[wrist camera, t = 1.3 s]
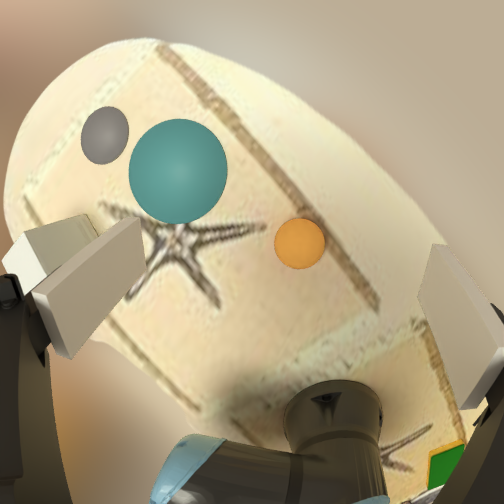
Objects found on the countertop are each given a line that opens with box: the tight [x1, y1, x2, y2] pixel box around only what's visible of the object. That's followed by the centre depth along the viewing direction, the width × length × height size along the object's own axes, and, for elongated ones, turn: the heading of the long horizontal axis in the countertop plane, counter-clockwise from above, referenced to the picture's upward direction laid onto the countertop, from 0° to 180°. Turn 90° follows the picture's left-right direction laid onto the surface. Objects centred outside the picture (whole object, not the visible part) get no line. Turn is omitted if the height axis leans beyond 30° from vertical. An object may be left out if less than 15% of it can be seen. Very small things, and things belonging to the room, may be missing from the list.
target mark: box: [129, 119, 227, 224], centre depth 37 cm, size 13×13×1 cm
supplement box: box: [2, 214, 98, 296], centre depth 36 cm, size 7×7×13 cm
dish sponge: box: [426, 439, 465, 490], centre depth 43 cm, size 7×14×2 cm, turn 19°
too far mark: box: [81, 107, 129, 164], centre depth 37 cm, size 8×8×1 cm
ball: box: [274, 218, 325, 269], centre depth 35 cm, size 6×6×6 cm
